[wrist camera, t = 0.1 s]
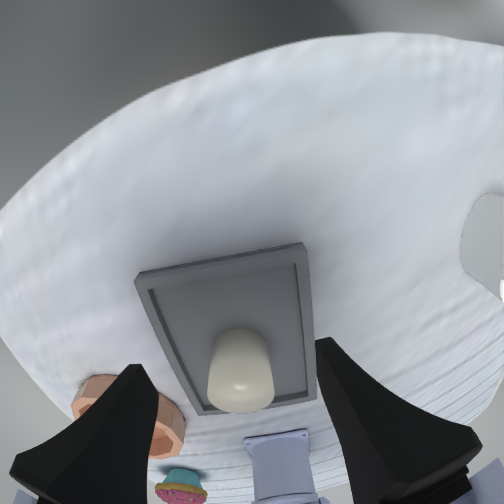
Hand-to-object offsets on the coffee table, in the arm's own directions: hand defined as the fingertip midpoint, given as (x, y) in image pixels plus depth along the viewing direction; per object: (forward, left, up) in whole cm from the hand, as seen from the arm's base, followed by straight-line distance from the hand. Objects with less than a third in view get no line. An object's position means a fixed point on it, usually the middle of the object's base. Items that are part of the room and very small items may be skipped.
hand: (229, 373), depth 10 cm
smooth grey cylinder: (-7, +1, -9) cm, 12 cm away
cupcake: (-36, +17, -10) cm, 41 cm away
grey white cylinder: (-2, -25, -10) cm, 27 cm away
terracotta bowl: (-16, +16, -10) cm, 25 cm away
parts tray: (-7, +1, -10) cm, 12 cm away
